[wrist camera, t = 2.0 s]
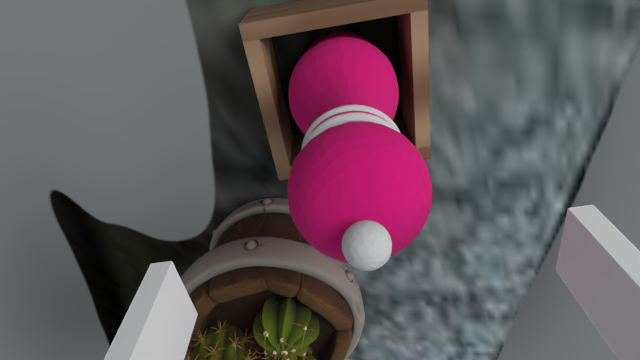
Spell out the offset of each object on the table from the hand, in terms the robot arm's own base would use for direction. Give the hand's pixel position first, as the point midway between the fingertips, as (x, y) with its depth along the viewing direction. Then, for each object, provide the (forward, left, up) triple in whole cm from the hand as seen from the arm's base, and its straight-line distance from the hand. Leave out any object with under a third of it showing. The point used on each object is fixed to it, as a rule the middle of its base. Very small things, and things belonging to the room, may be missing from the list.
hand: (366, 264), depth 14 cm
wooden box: (0, 0, -20) cm, 20 cm away
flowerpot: (+15, -8, -20) cm, 26 cm away
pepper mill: (0, 0, -20) cm, 20 cm away
